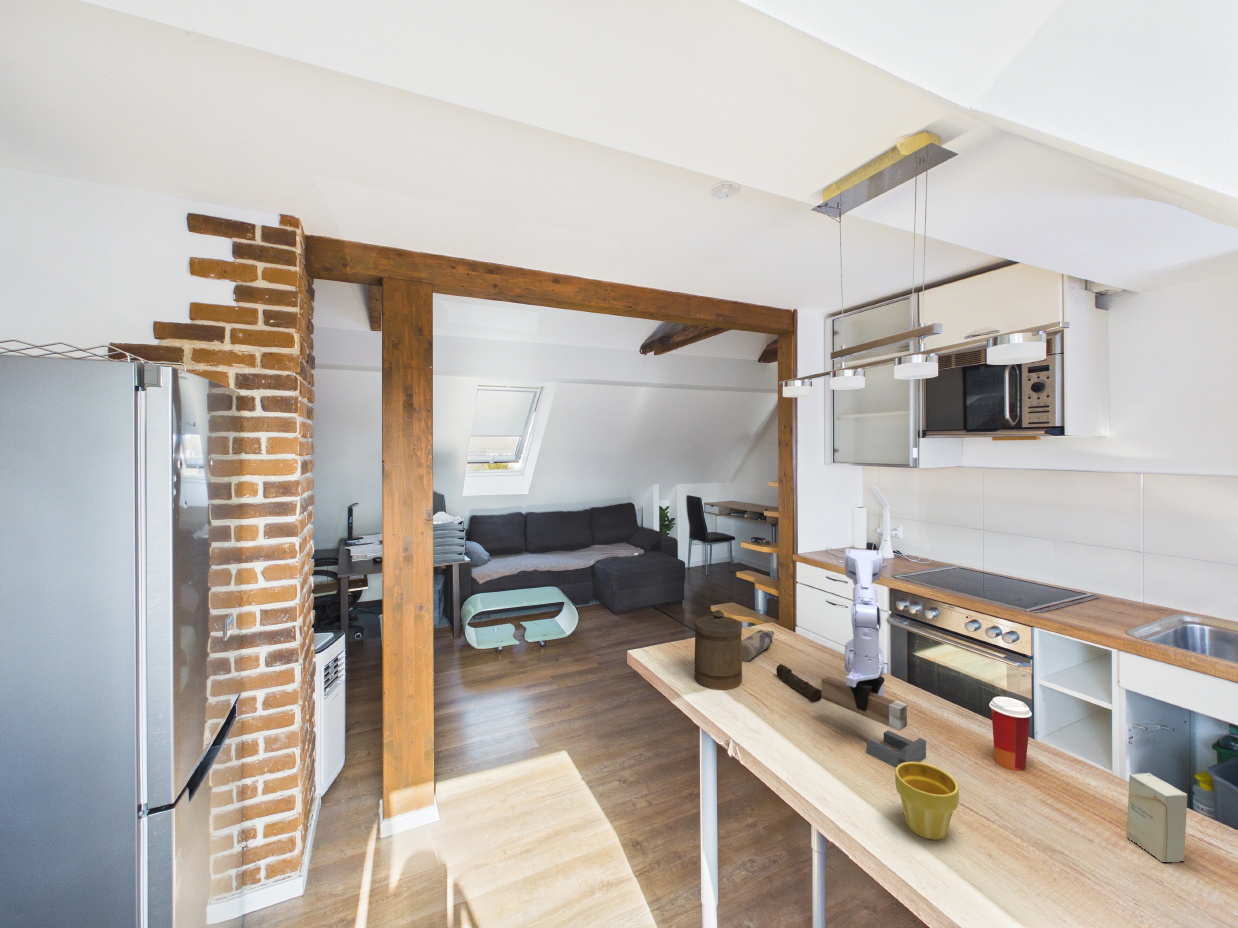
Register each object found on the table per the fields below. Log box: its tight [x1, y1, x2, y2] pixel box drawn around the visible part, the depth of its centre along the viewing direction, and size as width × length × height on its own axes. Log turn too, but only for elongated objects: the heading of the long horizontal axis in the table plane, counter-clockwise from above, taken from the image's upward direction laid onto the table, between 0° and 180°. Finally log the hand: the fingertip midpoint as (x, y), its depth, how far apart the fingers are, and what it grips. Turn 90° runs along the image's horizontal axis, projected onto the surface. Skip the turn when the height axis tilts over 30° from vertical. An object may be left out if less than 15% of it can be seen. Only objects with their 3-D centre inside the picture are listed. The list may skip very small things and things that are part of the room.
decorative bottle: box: [741, 629, 775, 662], centre depth 186 cm, size 26×8×7 cm, turn 140°
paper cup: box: [988, 696, 1033, 772], centre depth 117 cm, size 8×8×14 cm
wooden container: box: [694, 609, 743, 690], centre depth 162 cm, size 15×15×22 cm
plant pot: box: [894, 761, 960, 841], centre depth 98 cm, size 10×10×10 cm
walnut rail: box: [821, 675, 908, 732], centre depth 128 cm, size 4×20×5 cm, turn 36°
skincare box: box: [1126, 772, 1188, 863], centre depth 92 cm, size 6×4×12 cm
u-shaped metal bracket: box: [866, 730, 927, 768], centre depth 121 cm, size 10×9×4 cm
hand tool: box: [775, 663, 822, 703], centre depth 156 cm, size 19×4×5 cm, turn 16°
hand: (865, 707), depth 127 cm, fingers closed on walnut rail, 3 cm apart
